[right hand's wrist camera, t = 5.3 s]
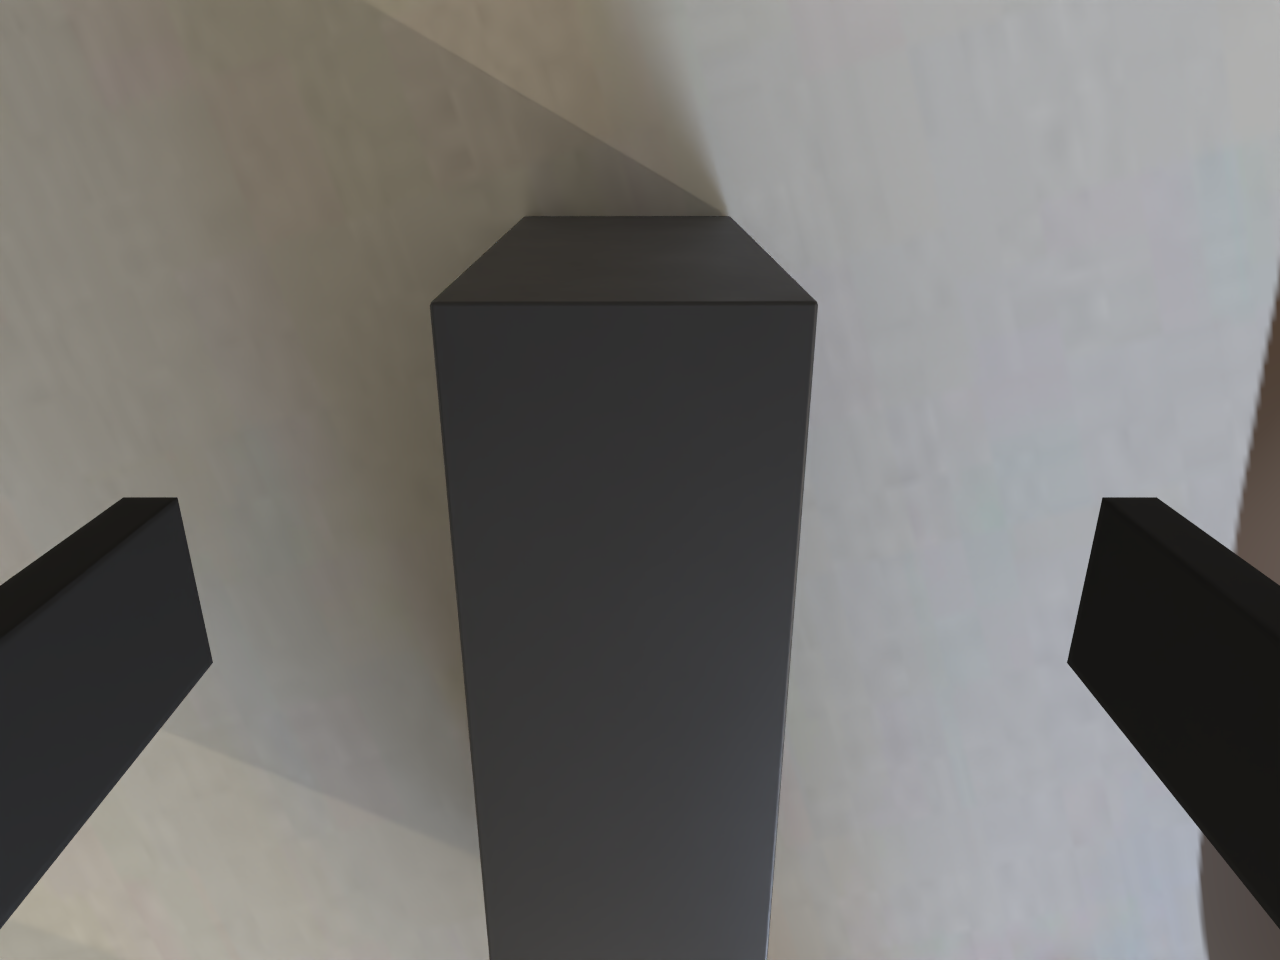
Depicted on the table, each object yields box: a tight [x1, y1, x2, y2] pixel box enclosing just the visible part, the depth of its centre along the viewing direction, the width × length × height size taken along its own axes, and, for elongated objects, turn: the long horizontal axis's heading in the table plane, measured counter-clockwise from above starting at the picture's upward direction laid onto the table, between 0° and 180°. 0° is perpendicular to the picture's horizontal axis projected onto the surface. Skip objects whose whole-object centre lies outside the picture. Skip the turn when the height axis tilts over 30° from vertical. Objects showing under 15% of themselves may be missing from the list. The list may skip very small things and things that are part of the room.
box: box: [430, 216, 818, 960], centre depth 25 cm, size 26×6×13 cm, turn 0°
